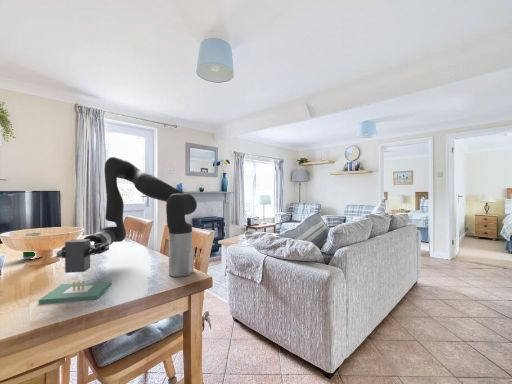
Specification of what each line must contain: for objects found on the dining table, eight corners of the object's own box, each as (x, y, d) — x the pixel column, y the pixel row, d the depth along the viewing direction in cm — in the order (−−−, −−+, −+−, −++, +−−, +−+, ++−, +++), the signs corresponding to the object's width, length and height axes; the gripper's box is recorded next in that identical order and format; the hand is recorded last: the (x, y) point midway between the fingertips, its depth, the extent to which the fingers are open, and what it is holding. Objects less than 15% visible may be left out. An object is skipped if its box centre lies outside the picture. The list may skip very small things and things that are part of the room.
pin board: (111, 284, 88) (111, 274, 88) (97, 299, 76) (97, 287, 76) (61, 287, 85) (61, 277, 85) (38, 303, 73) (38, 291, 73)
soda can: (42, 258, 118) (42, 234, 118) (21, 261, 114) (21, 236, 114) (44, 255, 124) (44, 232, 124) (24, 257, 120) (24, 233, 120)
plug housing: (90, 267, 83) (90, 239, 83) (84, 271, 79) (84, 241, 79) (71, 268, 82) (71, 239, 82) (65, 272, 78) (65, 242, 78)
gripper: (76, 233, 93) (48, 243, 76) (117, 232, 96) (98, 242, 79) (76, 252, 93) (48, 267, 76) (117, 251, 96) (98, 264, 79)
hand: (74, 254), depth 78 cm, fingers closed on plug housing, 5 cm apart
